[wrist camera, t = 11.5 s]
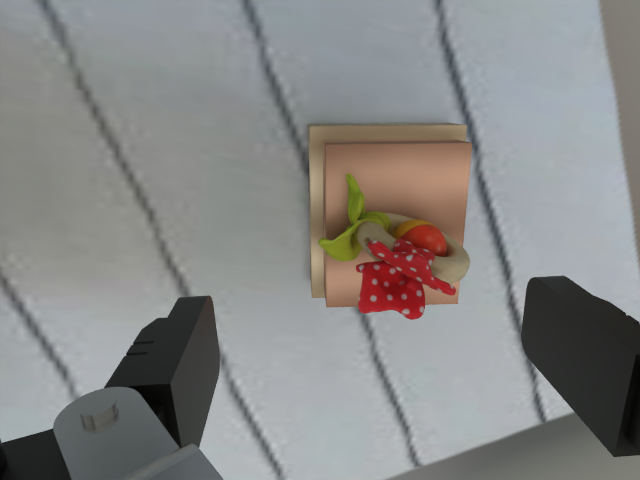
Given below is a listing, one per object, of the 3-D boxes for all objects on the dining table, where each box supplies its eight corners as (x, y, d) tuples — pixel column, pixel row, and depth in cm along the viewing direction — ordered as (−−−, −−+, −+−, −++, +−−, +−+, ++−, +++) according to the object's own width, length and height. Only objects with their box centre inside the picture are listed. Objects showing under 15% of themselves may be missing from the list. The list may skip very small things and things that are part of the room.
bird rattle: (419, 179, 33) (311, 165, 29) (548, 227, 24) (416, 216, 20) (398, 257, 35) (293, 254, 31) (510, 330, 26) (383, 341, 21)
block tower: (308, 124, 37) (310, 129, 30) (449, 123, 38) (488, 127, 30) (310, 280, 41) (313, 319, 34) (438, 276, 42) (469, 315, 34)
